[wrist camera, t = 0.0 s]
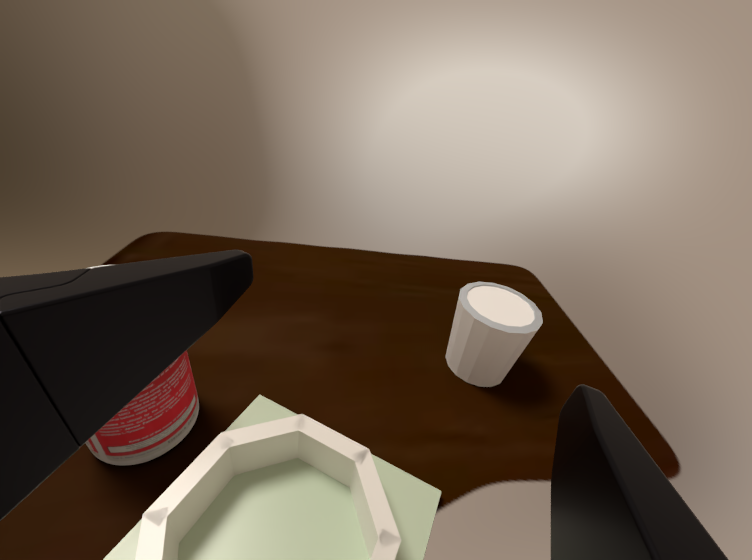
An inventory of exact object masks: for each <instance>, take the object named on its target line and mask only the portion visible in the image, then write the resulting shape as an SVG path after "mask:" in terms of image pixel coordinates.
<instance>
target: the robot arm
mask: <svg viewBox="0 0 752 560" xmlns="http://www.w3.org/2000/svg"><path fill="white" fill-rule="evenodd" d="M252 281H253V266H252V257H251V255H250V254H248V253H246V252H243V251H241V250H229V251H221V252H213V253H205V254H198V255H190V256H182V257H174V258H166V259H158V260H150V261H142V262H134V263H126V264H118V265H110V266H102V267H94V268H92V269H91V268H86V269H78V270H70V271H61V272H52V273H43V274H33V275H22V276H11V277H0V521H1V520H2V519H3V518H4V517H5V516H6V515H7V514H8V513H9V512H10V511H12V510H13V509H14V508H15V507H16V506H17V505H18V504H19V503H20V502H21V501H22V500H24V499H25V498H26V497H27V496H28V495H29V494H30V493H31V492H32V491H33V490H34V489H36V488H37V487H38V486H39V485H40V484H41V483H42V482H43V481H44V480H45V479H47V478H48V477H49V476H50V475H51V474H52V473H53V472H54V471H55V470H56V469H57V468H59V467H60V466H61V465H62V464H63V463H64V462H65V461H66V460H67V459H68V458H69V457H71V456H72V455H73V454H74V453H75V452H76V451H77V450H78V449H79V448H80V446H82V445H83V444H84V443H85V442H87V441H88V440H89V439H90V438H91V437H92V436H93V435H94V434H95V433H96V432H98V431H99V430H100V429H101V428H102V427H103V426H104V425H105V424H106V423H107V422H108V421H110V420H111V419H112V418H113V417H114V416H115V415H116V414H117V413H118V412H119V411H121V410H122V409H123V408H124V407H125V406H126V405H127V404H128V403H129V402H130V401H131V400H133V399H134V398H135V397H136V396H137V395H138V394H139V393H140V392H141V391H142V390H144V389H145V388H146V387H147V386H148V385H149V384H150V383H151V382H152V381H153V380H154V379H156V378H157V377H158V376H159V375H160V374H161V373H162V372H163V371H164V370H165V369H166V368H168V367H169V366H170V365H171V364H172V363H173V362H174V361H175V360H176V359H177V358H179V357H180V356H181V355H182V354H183V353H184V352H185V351H186V350H187V349H188V348H189V347H191V346H192V345H193V344H194V343H195V342H196V341H197V340H198V339H199V338H200V337H202V336H203V335H204V334H205V333H206V332H207V331H208V330H209V329H210V328H211V327H212V326H213V325H215V324H216V323H217V322H218V321H219V320H220V319H221V317H222V316H223V315H224V314H225V313H226V312H227V311H228V310H229V309H230V308H231V306H232V305H233V304H234V303H235V302H236V301H237V300H238V299H239V298H240V296H241V295H242V294H243V293H244V292H245V291H246V290H247V289H248V288H249V286H250V285H251V284H252ZM551 560H728V559H727V557H726V556H725V555H724V553H723V552H722V551H721V549H720V548H719V547H718V545H717V544H716V543H715V541H714V540H713V539H712V538H711V536H710V535H709V533H708V532H707V531H706V529H705V528H704V527H703V525H702V524H701V523H700V521H699V520H698V519H697V517H696V516H695V515H694V513H693V512H692V511H691V509H690V508H689V507H688V506H687V504H686V503H685V501H684V500H683V499H682V497H681V496H680V495H679V494H678V492H677V491H676V490H675V488H674V487H673V486H672V484H671V483H670V482H669V480H668V479H667V478H666V476H665V475H664V474H663V472H662V471H661V470H660V468H659V467H658V466H657V464H656V463H655V462H654V460H653V459H652V458H651V456H650V455H649V454H648V452H647V451H646V450H645V448H644V447H643V446H642V444H641V443H640V442H639V440H638V439H637V438H636V436H635V435H634V434H633V432H632V431H631V430H630V428H629V427H628V426H627V424H626V423H625V422H624V420H623V419H622V418H621V416H620V415H619V414H618V413H617V411H616V410H615V409H614V407H613V406H612V405H611V403H610V402H609V401H608V399H607V398H606V397H605V395H604V394H603V393H602V392H601V391H599V390H597V389H594V388H592V387H589V386H586V385H583V384H582V385H579V386H577V387H576V389H575V390H574V392H573V393H572V394H571V396H570V397H569V399H568V400H567V401H566V403H565V404H564V406H563V407H562V409H561V412H560V416H559V423H558V431H557V438H556V446H555V454H554V461H553V469H552V478H551Z"/></svg>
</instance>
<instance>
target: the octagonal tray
mask: <svg viewBox="0 0 752 560" xmlns="http://www.w3.org/2000/svg"><path fill="white" fill-rule="evenodd" d="M441 492H442V491H440V490H438V489H436V488H434V487H432V486H431V485H429V484H427V483H425V482H423V481H421V480H419V479H417V478H415V477H414V476H412V475H410V474H408V473H406V472H404V471H402V470H400V469H399V468H397V467H395V466H393V465H391V464H389V463H387V462H385V461H384V460H382V459H380V458H378V457H376V456H374V455H372V454H371V453H370V450H369V449H368V448H366V447H364V446H362V445H360V444H358V443H356V442H355V441H353V440H351V439H349V438H347V437H345V436H343V435H341V434H339V433H338V432H336V431H334V430H332V429H330V428H328V427H326V426H324V425H322V424H321V423H319V422H317V421H315V420H313V419H311V418H309V417H307V416H305V415H304V414H300V415H297V414H295V413H293V412H291V411H290V410H288V409H286V408H284V407H282V406H280V405H278V404H276V403H275V402H273V401H271V400H269V399H267V398H265V397H263V396H261V395H259V396H258V397H257V398H256V399H255V400H254V401H253V402H252V403H251V404H250V405H249V406H248V408H247V409H246V410H245V411H244V412H243V413H242V414H241V415H240V416H239V417H238V418H237V419H236V420H235V421H234V422H233V423H232V424H231V425H230V426H229V428H228V429H227V430H226V431H225V432H221V433H220V434H219V435H218V436H217V437H216V438H215V439H214V440H213V441H212V442H211V443H210V444H209V446H208V447H207V448H206V449H205V450H204V451H203V452H202V453H201V454H200V455H199V456H198V457H197V458H196V459H195V460H194V461H193V462H192V463H191V464H190V465H189V466H188V467H187V469H186V470H185V471H184V472H183V473H182V474H181V475H180V476H179V477H178V478H177V479H176V480H175V481H174V482H173V483H172V484H171V485H170V486H169V487H168V488H167V489H166V490H165V492H164V493H163V494H162V495H161V496H160V497H159V498H158V499H157V500H156V501H155V502H154V503H153V504H152V505H151V506H150V507H149V508H148V509H147V510H146V511H145V512H144V513H143V514H142V515H143V516H142V519H141V520H140V521H139V522H138V523H137V525H136V526H135V527H134V528H133V529H132V530H131V531H130V532H129V533H128V534H127V535H126V536H125V537H124V538H123V539H122V540H121V541H120V542H119V543H118V545H117V546H116V547H115V548H114V549H113V550H112V551H111V552H110V553H109V554H108V555H107V556H106V557H105V558H104V559H103V560H423V559H424V555H425V551H426V548H427V544H428V540H429V536H430V533H431V529H432V525H433V521H434V518H435V514H436V510H437V507H438V503H439V499H440V495H441Z"/></svg>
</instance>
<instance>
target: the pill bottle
mask: <svg viewBox="0 0 752 560" xmlns="http://www.w3.org/2000/svg"><path fill="white" fill-rule="evenodd" d="M103 266H110V265H103ZM96 267H102V266H96ZM90 268H91V269H92V268H94V267H90ZM198 412H199V400H198V395H197V391H196V387H195V382H194V378H193V374H192V370H191V366H190V362H189V358H188V354H187V350H186V351H185V352H184V353H183V354H182V355H181V356H180V357H179V358H177V359H176V360H175V361H174V362H173V363H172V364H171V365H170V366H169V367H168V368H166V369H165V370H164V371H163V372H162V373H161V374H160V375H159V376H158V377H157V378H156V379H154V380H153V381H152V382H151V383H150V384H149V385H148V386H147V387H146V388H145V389H144V390H142V391H141V392H140V393H139V394H138V395H137V396H136V397H135V398H134V399H133V400H131V401H130V402H129V403H128V404H127V405H126V406H125V407H124V408H123V409H122V410H121V411H119V412H118V413H117V414H116V415H115V416H114V417H113V418H112V419H111V420H110V421H108V422H107V423H106V424H105V425H104V426H103V427H102V428H101V429H100V430H99V431H98V432H96V433H95V434H94V435H93V436H92V437H91V438H90V439H89V440H88V441H87V442H85V443H86V445H87V446H88V448H89V449H90V451H91V452H92V453H93V454H94V455H95V456H96V457H97V458H98V459H100V460H101V461H104V462H106V463H109V464H113V465H135V464H140V463H144V462H147V461H150V460H152V459H155V458H157V457H159V456H161V455H163V454H164V453H166V452H168V451H169V450H170V449H172V448H173V447H175V446H176V445H177V444H178V443H179V442H181V441H182V440H183V439H184V437H185V436H186V435H187V434H188V433H189V431H190V430H191V429H192V427H193V425H194V423H195V421H196V419H197V416H198Z"/></svg>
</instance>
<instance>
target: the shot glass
mask: <svg viewBox="0 0 752 560" xmlns="http://www.w3.org/2000/svg"><path fill="white" fill-rule="evenodd" d="M542 323H543V320H542V313H541V312H540V310H539V309H538V308H537V306H536V305H535V304H534V303H533V302H532V301H531V300H529V299H528V298H527V297H525V296H524V295H523V294H521V293H519V292H517V291H515V290H513V289H511V288H509V287H506V286H502V285H499V284H495V283H489V282H475V283H470V284H467V285H466V286H464V287H463V288H462V289H461V290H460V294H459V299H458V303H457V308H456V312H455V316H454V321H453V325H452V330H451V334H450V339H449V343H448V347H447V352H446V360H447V363H448V366H449V367H450V369H451V370H452V371H453V372H454V373H455V375H457V376H458V377H460V378H461V379H463V380H464V381H465V382H467V383H470V384H473V385H476V386H479V387H492V386H495V385H498V384H500V383H501V382H502V380H503V379H504V377H505V376H506V375H507V373H508V372H509V370H510V369H511V367H512V366H513V365H514V363H515V362H516V360H517V359H518V357H519V356H520V355H521V353H522V352H523V350H524V349H525V347H526V346H527V345H528V343H529V342H530V340H531V339H532V337H533V336H534V335H535V333H536V332H537V330H538V329H539V327H540V326H541V325H542Z"/></svg>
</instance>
